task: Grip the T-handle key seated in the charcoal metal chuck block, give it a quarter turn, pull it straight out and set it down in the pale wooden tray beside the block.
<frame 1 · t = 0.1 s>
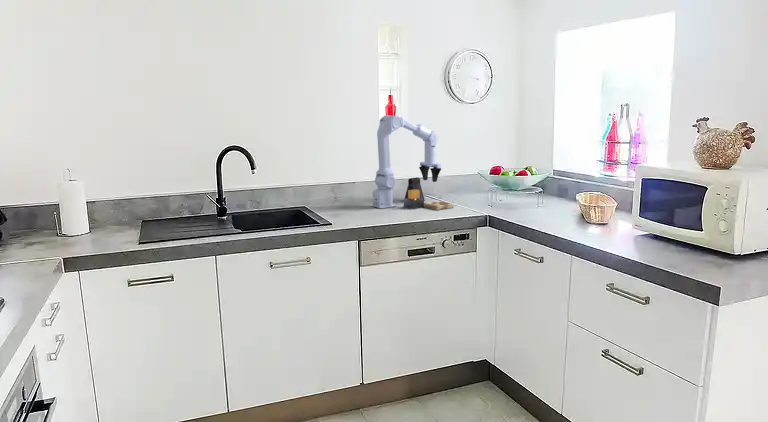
hand: (430, 180, 295), 10 cm above the counter, fingers open, 7 cm apart
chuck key: (413, 198, 278), in the chuck block
key tray: (438, 207, 277), on the counter
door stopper: (414, 201, 295), on the counter
chuck block: (413, 207, 278), on the counter
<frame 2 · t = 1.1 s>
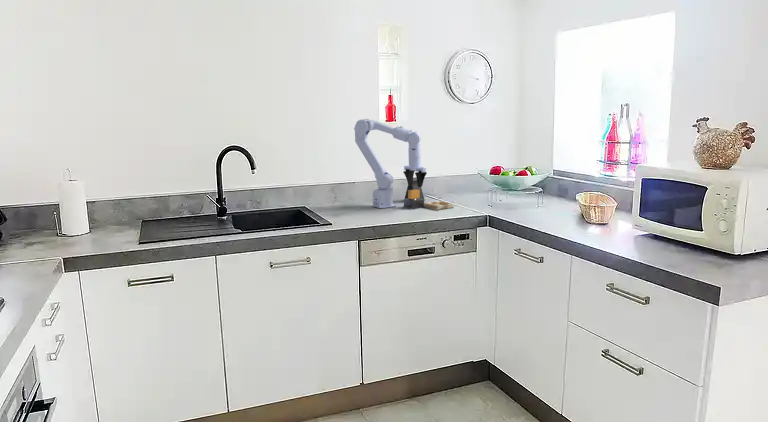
hand: (415, 185, 277), 10 cm above the counter, fingers open, 7 cm apart
nothing on the counter moved.
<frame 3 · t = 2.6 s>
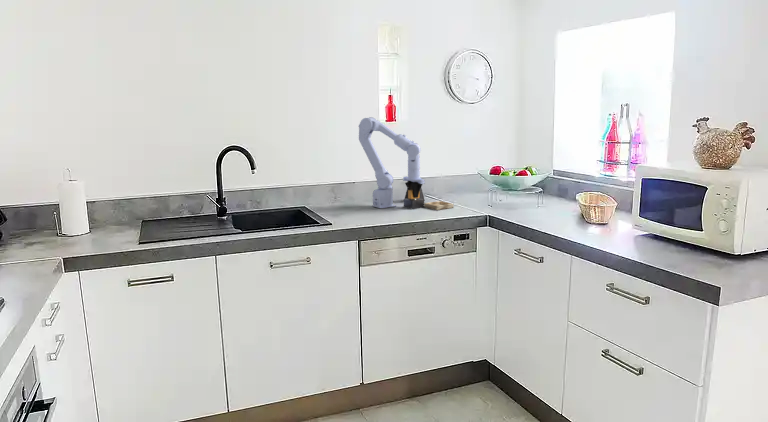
hand: (413, 197, 277), 5 cm above the counter, fingers closed on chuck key, 2 cm apart
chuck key: (413, 198, 278), in the chuck block, touching gripper
everything else where it was.
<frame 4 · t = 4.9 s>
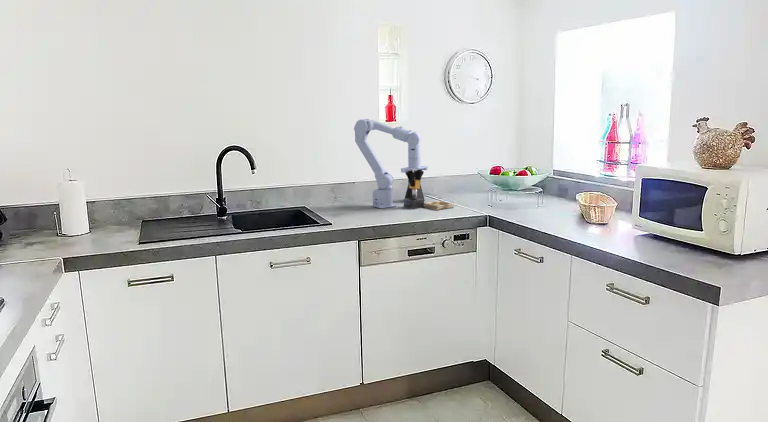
hand: (414, 186, 276), 10 cm above the counter, fingers closed on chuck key, 2 cm apart
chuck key: (414, 188, 277), point 9 cm above the counter, touching gripper
everything else where it was.
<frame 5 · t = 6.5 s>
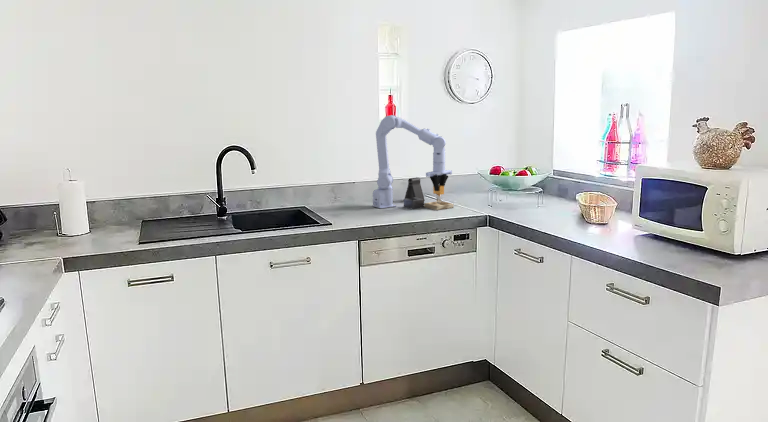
hand: (438, 190, 275), 8 cm above the counter, fingers closed on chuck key, 2 cm apart
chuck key: (438, 194, 276), point 6 cm above the counter, touching gripper
everything else where it was.
when the fingers open (7 cm above the counter, at t = 7.4 s): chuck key stays where it is, resting on key tray.
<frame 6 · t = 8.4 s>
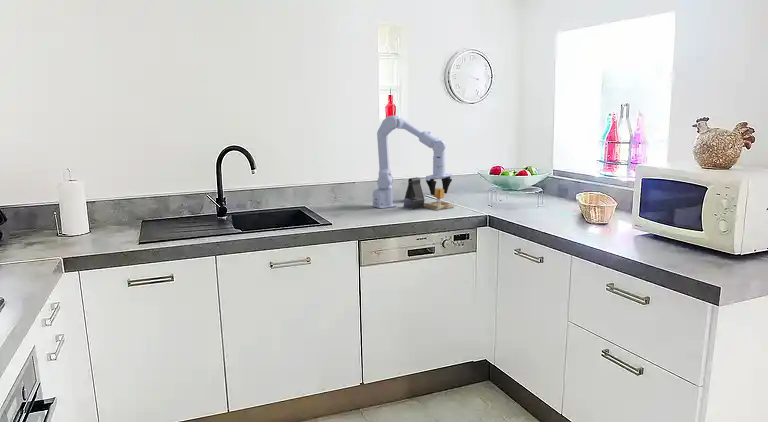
hand: (438, 194, 275), 7 cm above the counter, fingers open, 7 cm apart
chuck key: (438, 197, 276), in the key tray, point 5 cm above the counter
everything else where it was.
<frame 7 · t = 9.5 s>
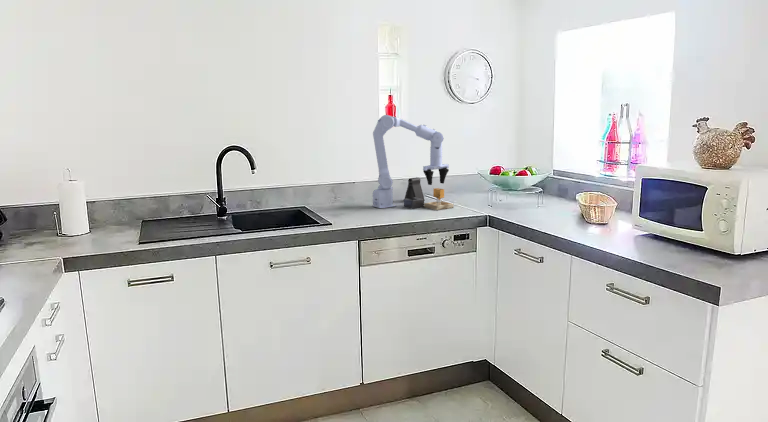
hand: (436, 184, 282), 10 cm above the counter, fingers open, 7 cm apart
nothing on the counter moved.
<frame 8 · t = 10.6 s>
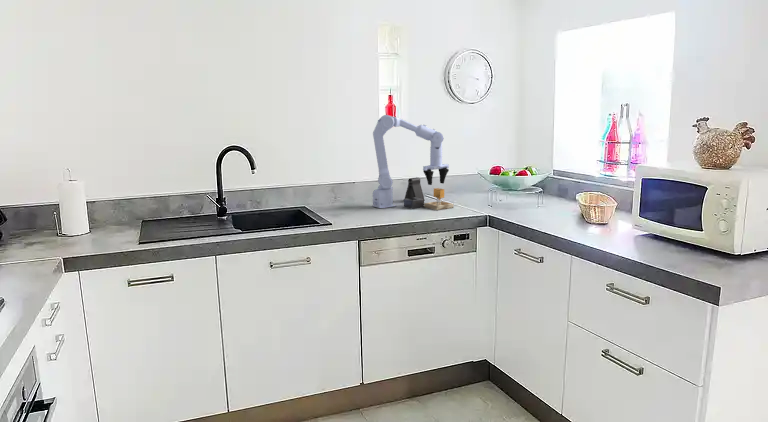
hand: (436, 184, 282), 10 cm above the counter, fingers open, 7 cm apart
nothing on the counter moved.
at the end: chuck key inside the target area on the key tray (0.1 cm from its centre), point 4.9 cm above the key tray's base; the gripper is holding nothing; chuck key touching key tray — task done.
